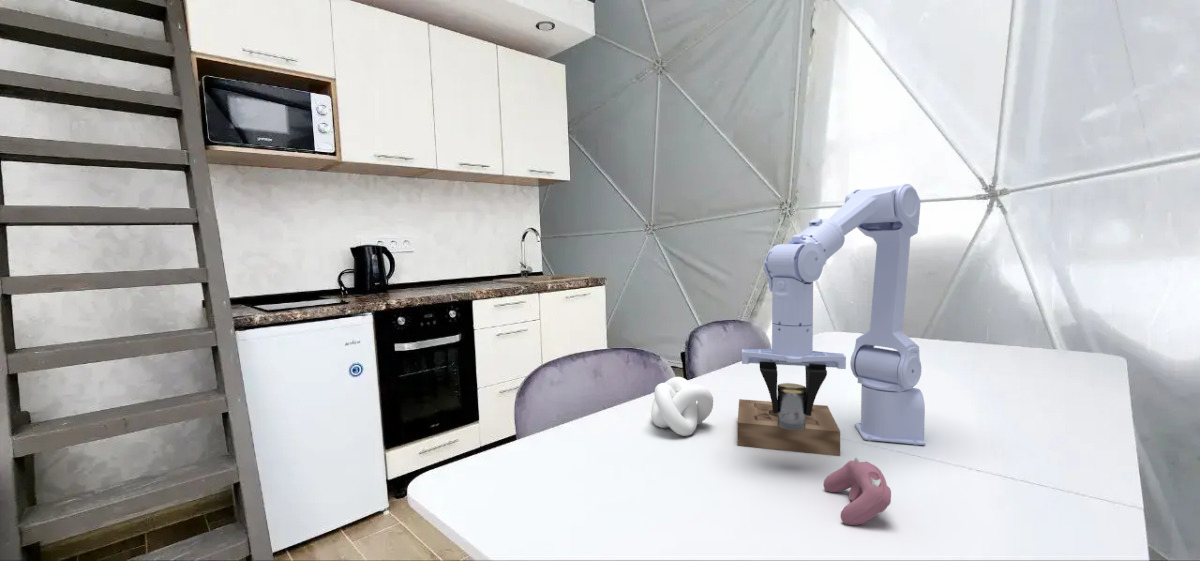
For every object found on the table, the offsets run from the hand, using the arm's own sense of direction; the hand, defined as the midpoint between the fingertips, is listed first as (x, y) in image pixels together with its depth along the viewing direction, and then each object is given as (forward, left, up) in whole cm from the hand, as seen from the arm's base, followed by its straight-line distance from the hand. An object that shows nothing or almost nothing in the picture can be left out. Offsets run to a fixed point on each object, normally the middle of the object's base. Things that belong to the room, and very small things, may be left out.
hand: (791, 412), depth 75 cm
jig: (0, -14, -9) cm, 16 cm away
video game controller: (-7, +10, -9) cm, 15 cm away
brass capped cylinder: (0, 0, -2) cm, 2 cm away
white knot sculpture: (+18, -13, -9) cm, 24 cm away
